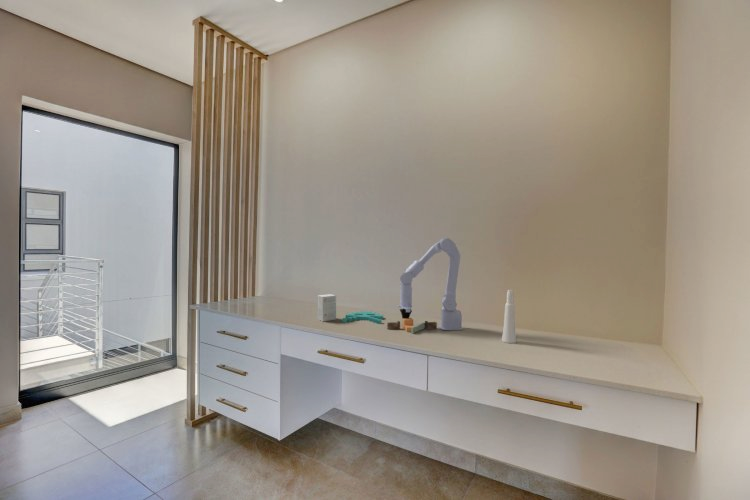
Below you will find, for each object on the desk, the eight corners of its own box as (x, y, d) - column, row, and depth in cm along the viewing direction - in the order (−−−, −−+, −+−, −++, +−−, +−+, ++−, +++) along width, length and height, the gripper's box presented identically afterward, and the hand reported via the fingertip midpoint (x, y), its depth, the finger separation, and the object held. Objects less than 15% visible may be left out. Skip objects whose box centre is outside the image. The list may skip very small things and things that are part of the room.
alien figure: (381, 324, 179) (383, 315, 198) (381, 320, 178) (384, 312, 198) (342, 323, 180) (349, 314, 200) (342, 319, 180) (349, 310, 200)
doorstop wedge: (411, 327, 172) (411, 318, 172) (415, 331, 164) (416, 321, 164) (402, 327, 171) (402, 318, 171) (406, 331, 163) (406, 322, 163)
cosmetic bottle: (513, 344, 146) (514, 291, 146) (499, 341, 150) (500, 290, 150) (518, 341, 151) (520, 290, 150) (504, 338, 155) (506, 288, 154)
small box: (330, 317, 191) (330, 293, 190) (336, 319, 186) (336, 295, 185) (316, 319, 186) (317, 295, 185) (322, 321, 181) (322, 296, 180)
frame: (435, 327, 171) (436, 320, 171) (436, 329, 169) (437, 321, 169) (387, 328, 169) (387, 321, 169) (387, 329, 167) (387, 322, 167)
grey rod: (423, 327, 170) (423, 322, 170) (426, 328, 169) (426, 323, 169) (411, 332, 161) (411, 327, 161) (414, 333, 160) (414, 328, 160)
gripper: (395, 293, 179) (395, 320, 180) (400, 299, 165) (399, 327, 165) (409, 294, 180) (409, 320, 180) (414, 299, 166) (414, 327, 166)
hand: (405, 323), depth 173 cm, fingers closed
